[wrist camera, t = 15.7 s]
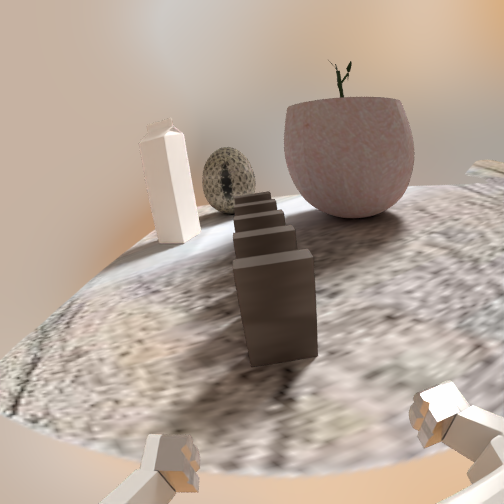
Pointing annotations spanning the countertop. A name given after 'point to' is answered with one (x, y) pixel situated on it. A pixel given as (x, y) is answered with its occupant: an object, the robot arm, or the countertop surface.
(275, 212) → the domino
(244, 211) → the domino
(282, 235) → the domino
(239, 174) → the decorative egg
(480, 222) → the countertop surface
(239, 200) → the domino
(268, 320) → the domino
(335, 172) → the plant pot
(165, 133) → the milk
